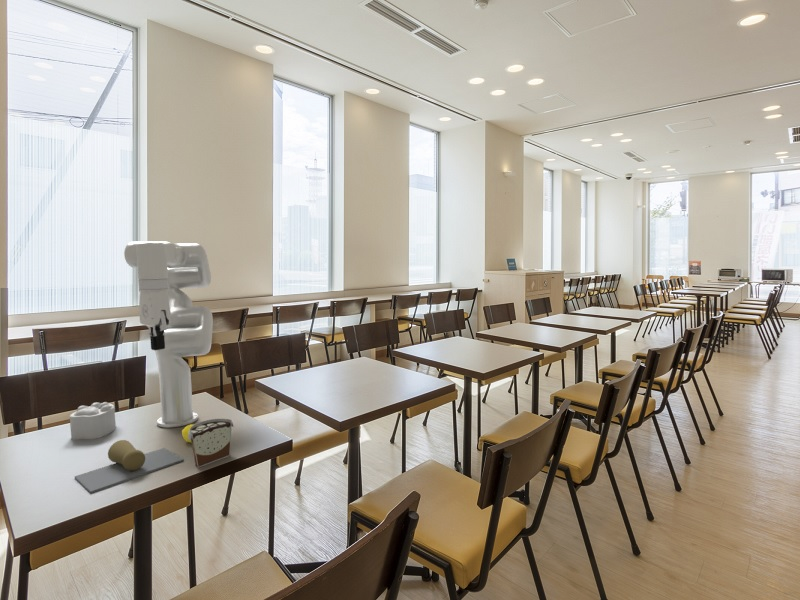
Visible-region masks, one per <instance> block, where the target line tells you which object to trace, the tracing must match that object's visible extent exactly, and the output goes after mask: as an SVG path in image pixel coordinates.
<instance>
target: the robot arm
mask: <svg viewBox="0 0 800 600" xmlns="http://www.w3.org/2000/svg"><path fill="white" fill-rule="evenodd" d="M123 254H124V259H125V262H126V264H127V265H128V267H131V268H135V269H136V268H137V279H138V280H137V281H138V282H137V283H138V291H139V302H138V303H139V305H138V306H139V322H140V324H141V325H142V326H146V327H147V328H148V332H149V333H148V334H149V335H150V336H149V339H150V349H151V350H152V351H154V352H155V355H156V362H157V369H158V383H159V396H160V411H161V416H160V417H159V418H157V420H156V425H157V426H158V427H160V428H178V427H182V426H187V425H190V424H194V423H195V422H196V421H197V420H198V419H199V414H198V413H197V412H194V409H193V394H192V392H193V391H192V376H191V375H192V374H191V369H190V365H189V364H188V362H187V361H186V360H184V359H183V358H184V357H194V356H195V357H197V356H204V355H208V354H209V352H210V351H211V348H212V342H213V328H214V327H213V326H214V323H213V322H214V321H213V320H214V319H213V317H214V316H213V313H212V310H211V308H209V307H207V306H204V305H193V301H192V299H191V297H190V296H189V295H188V294H187V293H185V292H184V291H183V290H182V289H184V290H186V289H205V288H207V287H209V286H210V284H211V281H212V273H211V269H210V265H209V260H208V255H207V251H206V250H205V247H203V246H202V245H201V244H199V243H173V242H170V241H130V242H128V243H127V245H126V246H125V248H124V253H123Z"/></svg>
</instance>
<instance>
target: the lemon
mask: <svg viewBox="0 0 800 600" xmlns="http://www.w3.org/2000/svg"><path fill="white" fill-rule="evenodd" d="M195 424H196V423H195ZM195 424H194V423H190V424H188V425H185V427H184V428H183V429H181V434H182V438H183V439H184V441H186V442H187V443H191V441H190V440H189V439H188V433H189V430H190V428H191V427H192V426H193V425H195ZM191 444H192V443H191Z"/></svg>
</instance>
